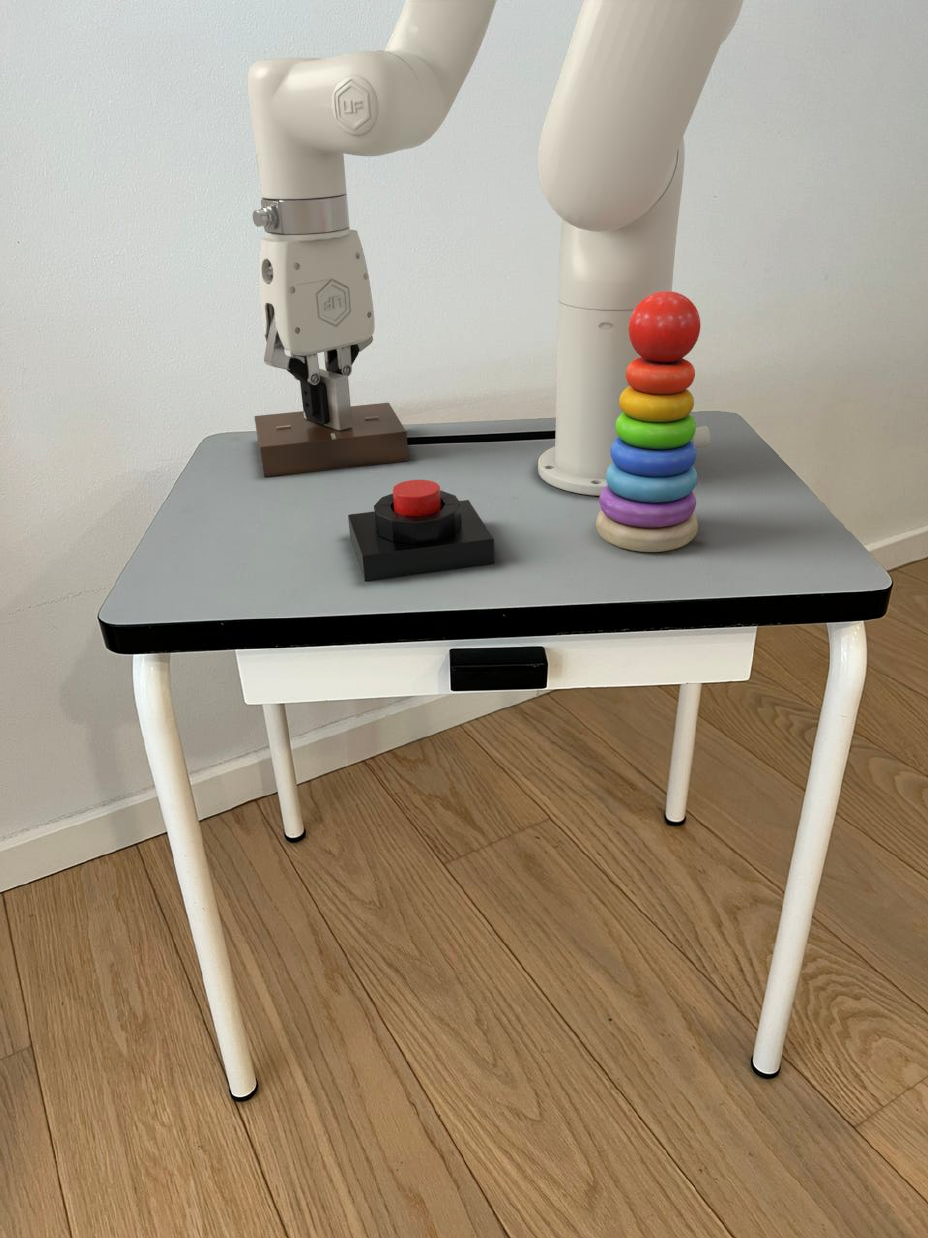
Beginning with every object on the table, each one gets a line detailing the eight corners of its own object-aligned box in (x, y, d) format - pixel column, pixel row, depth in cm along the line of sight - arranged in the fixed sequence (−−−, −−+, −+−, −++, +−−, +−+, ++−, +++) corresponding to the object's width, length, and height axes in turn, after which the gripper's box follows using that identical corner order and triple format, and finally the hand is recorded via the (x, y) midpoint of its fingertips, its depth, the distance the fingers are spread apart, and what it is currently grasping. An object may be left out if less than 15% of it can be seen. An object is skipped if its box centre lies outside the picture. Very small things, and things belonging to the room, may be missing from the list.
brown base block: (390, 429, 101) (388, 400, 99) (408, 461, 92) (406, 430, 91) (258, 443, 98) (254, 413, 97) (263, 477, 90) (259, 445, 88)
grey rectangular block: (353, 427, 92) (348, 373, 90) (340, 431, 91) (334, 377, 89) (316, 414, 96) (311, 363, 94) (303, 418, 95) (297, 366, 93)
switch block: (469, 524, 79) (467, 478, 77) (494, 564, 72) (493, 516, 70) (350, 539, 77) (345, 493, 75) (364, 582, 70) (360, 533, 68)
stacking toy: (697, 560, 72) (723, 305, 62) (591, 553, 73) (602, 303, 64) (696, 518, 78) (720, 282, 69) (599, 513, 80) (610, 281, 71)
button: (435, 497, 75) (434, 476, 74) (445, 515, 72) (444, 493, 71) (390, 503, 74) (389, 482, 73) (398, 521, 71) (397, 499, 70)
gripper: (254, 231, 77) (282, 447, 87) (400, 211, 87) (412, 407, 96) (207, 224, 82) (238, 429, 91) (350, 206, 92) (366, 393, 101)
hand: (327, 416), depth 94 cm, fingers closed on grey rectangular block
